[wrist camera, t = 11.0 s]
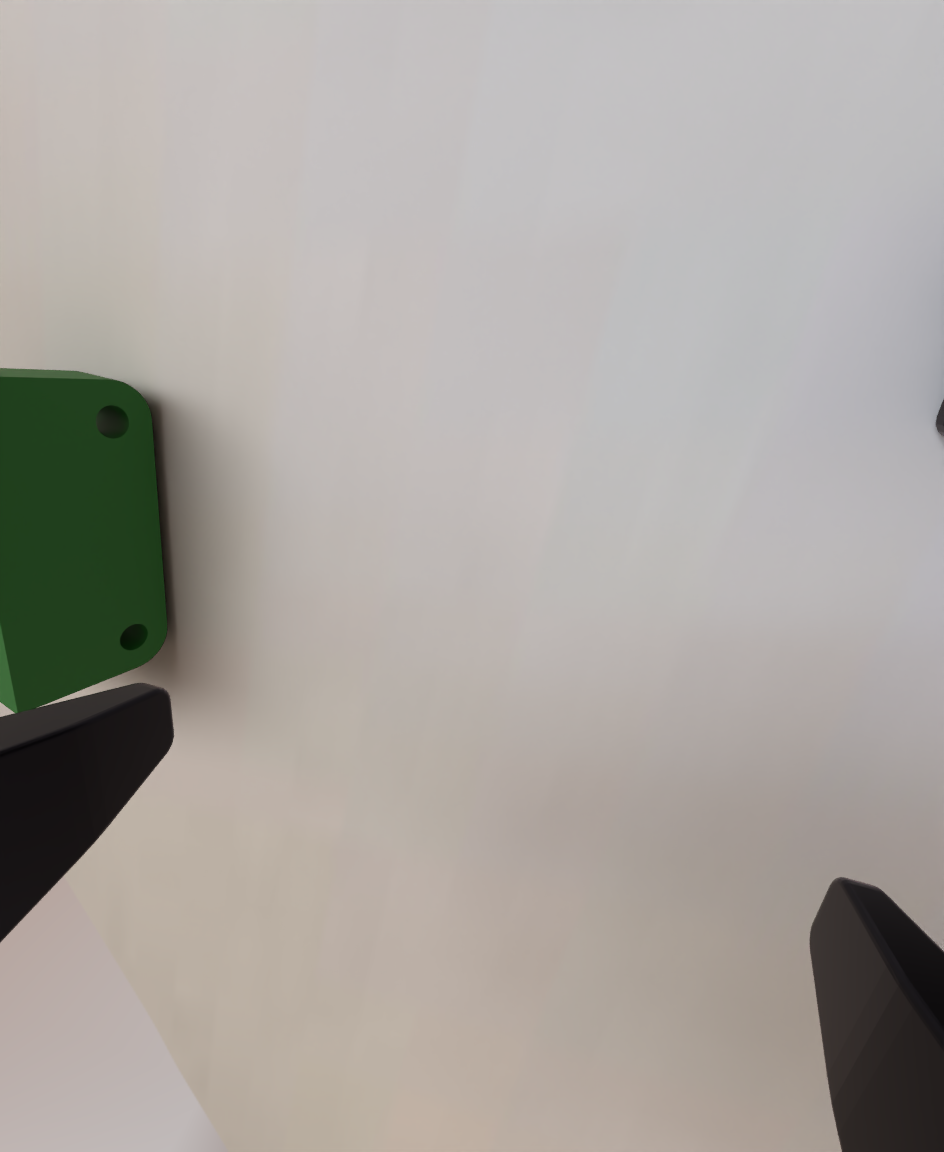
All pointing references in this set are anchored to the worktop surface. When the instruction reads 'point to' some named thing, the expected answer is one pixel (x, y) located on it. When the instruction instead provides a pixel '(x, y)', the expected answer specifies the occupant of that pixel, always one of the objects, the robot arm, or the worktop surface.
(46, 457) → the clamp
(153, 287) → the worktop surface
